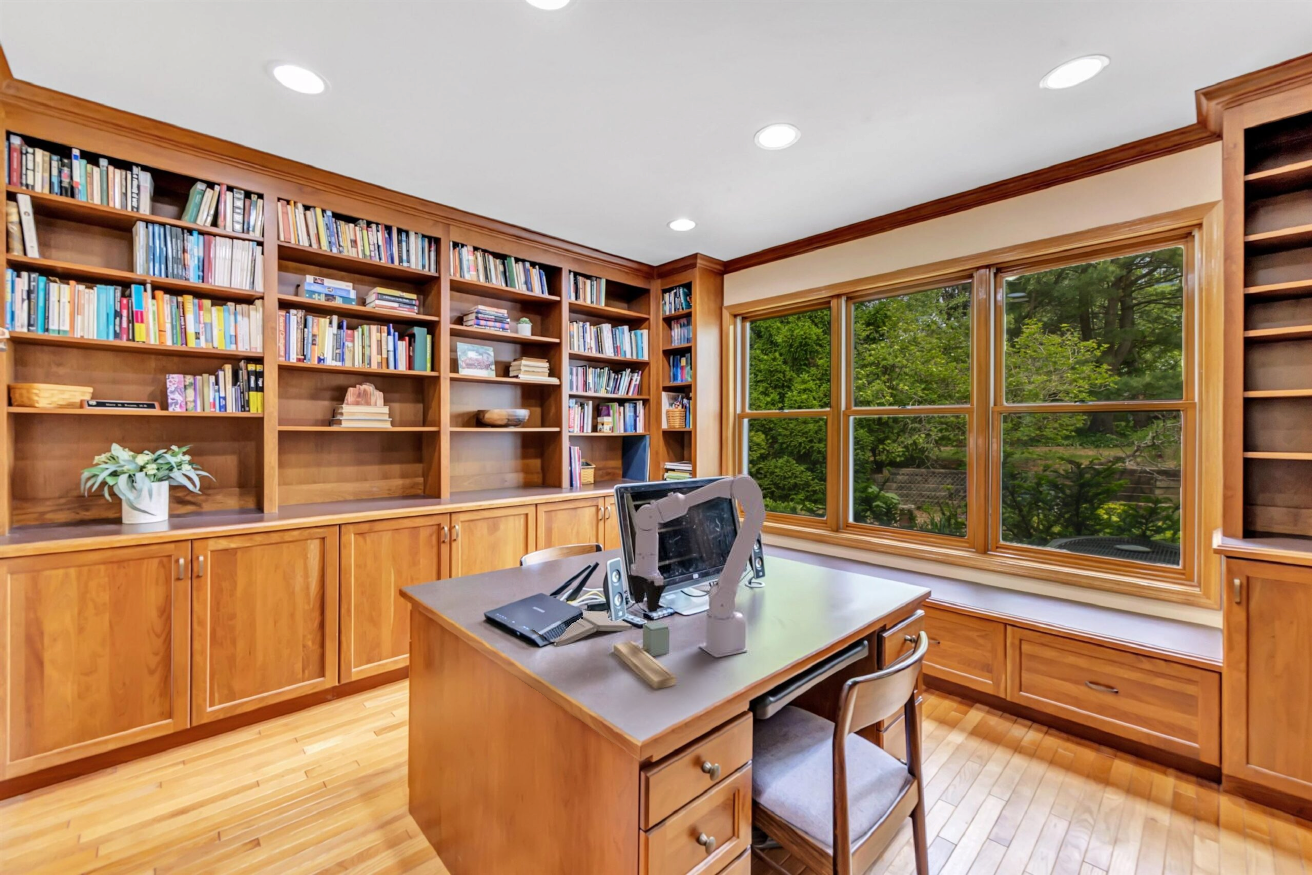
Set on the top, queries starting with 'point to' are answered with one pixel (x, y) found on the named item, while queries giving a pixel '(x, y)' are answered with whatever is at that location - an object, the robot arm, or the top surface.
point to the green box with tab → (655, 638)
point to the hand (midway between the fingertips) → (645, 606)
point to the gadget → (590, 627)
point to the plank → (645, 665)
